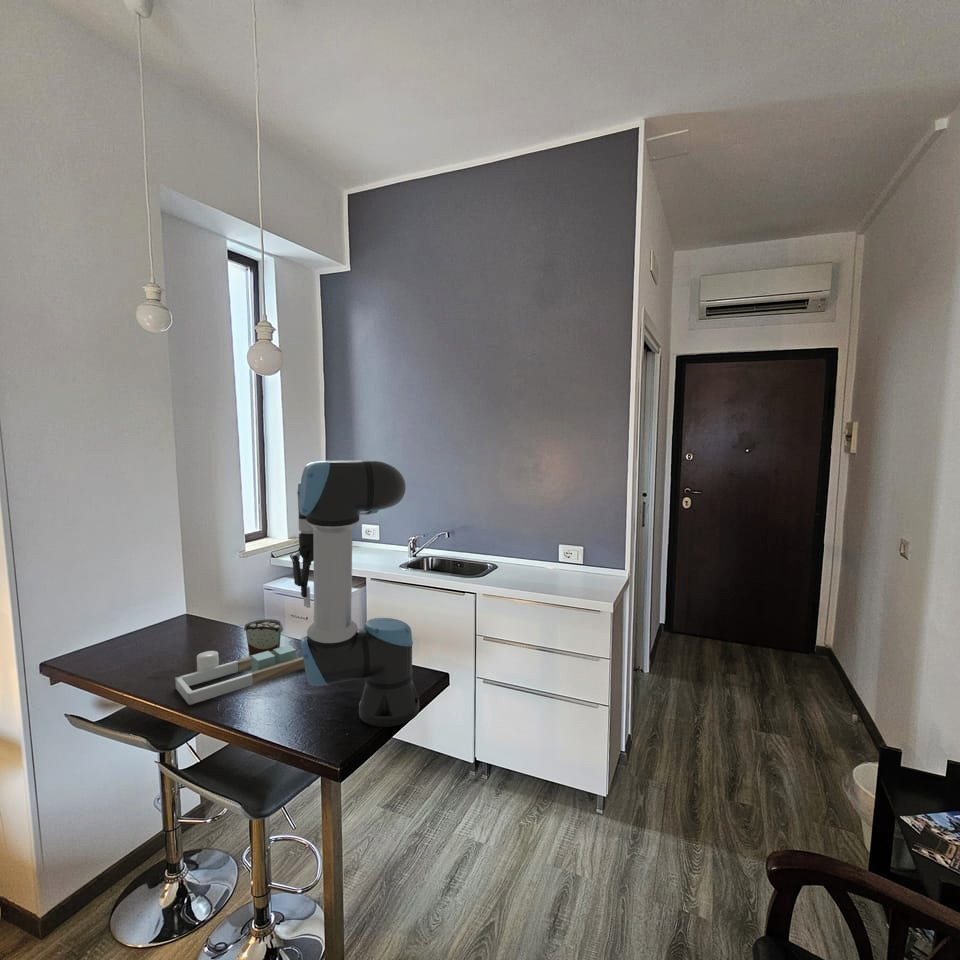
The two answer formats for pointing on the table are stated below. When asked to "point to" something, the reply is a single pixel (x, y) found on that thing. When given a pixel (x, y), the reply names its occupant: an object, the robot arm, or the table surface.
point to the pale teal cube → (262, 660)
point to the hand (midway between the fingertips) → (313, 605)
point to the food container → (263, 635)
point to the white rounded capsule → (207, 660)
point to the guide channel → (271, 669)
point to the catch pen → (214, 689)
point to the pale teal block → (284, 654)
